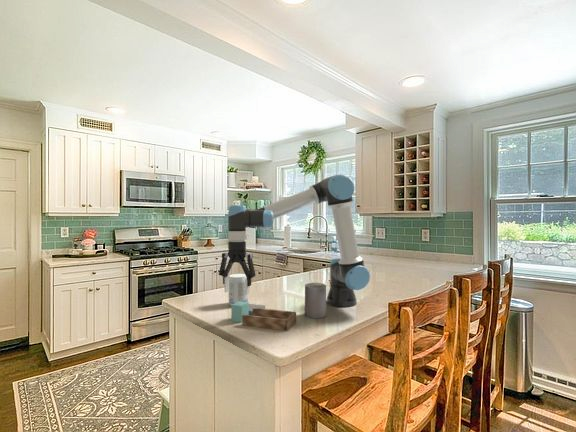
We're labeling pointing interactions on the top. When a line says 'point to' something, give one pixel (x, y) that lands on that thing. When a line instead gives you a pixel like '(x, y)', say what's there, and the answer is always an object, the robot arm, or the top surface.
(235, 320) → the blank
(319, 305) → the pillar candle
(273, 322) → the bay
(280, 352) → the top surface
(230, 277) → the supplement tub
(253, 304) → the trivet
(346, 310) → the top surface
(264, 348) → the top surface
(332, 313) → the top surface
